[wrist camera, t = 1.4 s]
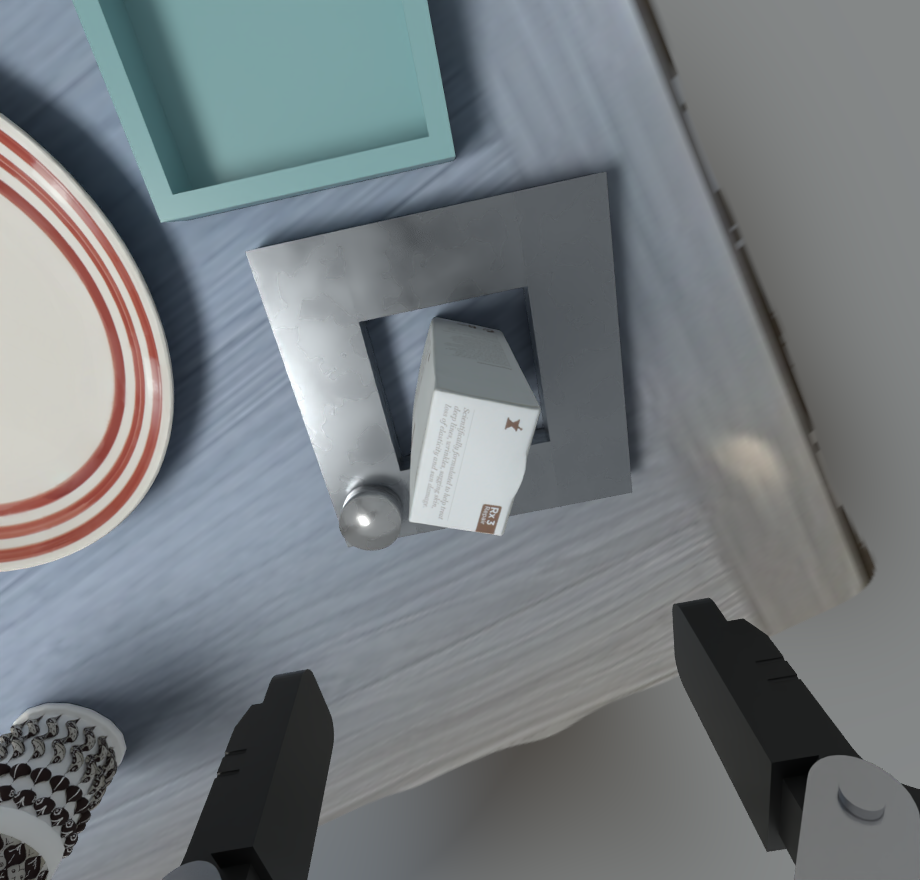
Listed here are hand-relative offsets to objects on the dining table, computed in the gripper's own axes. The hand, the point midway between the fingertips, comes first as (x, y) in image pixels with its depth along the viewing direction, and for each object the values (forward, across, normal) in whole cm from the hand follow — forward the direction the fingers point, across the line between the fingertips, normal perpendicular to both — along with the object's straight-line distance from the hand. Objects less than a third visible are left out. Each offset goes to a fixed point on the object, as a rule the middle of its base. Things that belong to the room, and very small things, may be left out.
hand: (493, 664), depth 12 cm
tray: (+22, +5, -18) cm, 29 cm away
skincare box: (+22, 0, 0) cm, 22 cm away
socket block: (+22, 0, 0) cm, 22 cm away
